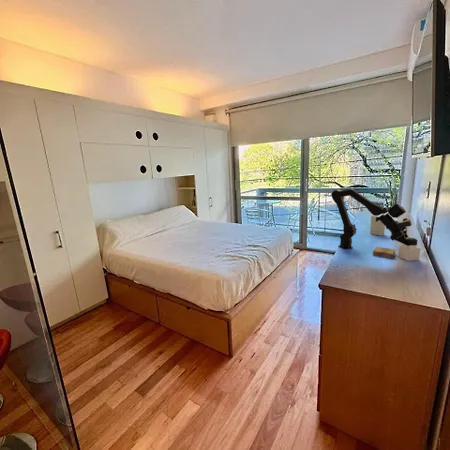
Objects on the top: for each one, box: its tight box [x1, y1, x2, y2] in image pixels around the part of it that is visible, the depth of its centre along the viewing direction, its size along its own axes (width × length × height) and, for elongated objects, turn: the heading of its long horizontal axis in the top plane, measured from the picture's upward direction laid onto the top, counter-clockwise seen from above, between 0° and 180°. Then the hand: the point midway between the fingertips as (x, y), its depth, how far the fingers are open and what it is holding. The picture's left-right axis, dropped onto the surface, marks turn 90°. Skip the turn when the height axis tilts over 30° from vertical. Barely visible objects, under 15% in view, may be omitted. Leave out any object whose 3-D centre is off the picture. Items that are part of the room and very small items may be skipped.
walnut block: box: [372, 246, 396, 259], centre depth 149 cm, size 10×10×3 cm
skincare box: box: [369, 214, 386, 236], centre depth 189 cm, size 8×6×15 cm
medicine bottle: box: [397, 237, 422, 262], centre depth 140 cm, size 7×7×12 cm
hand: (410, 244), depth 140 cm, fingers closed on medicine bottle, 6 cm apart
